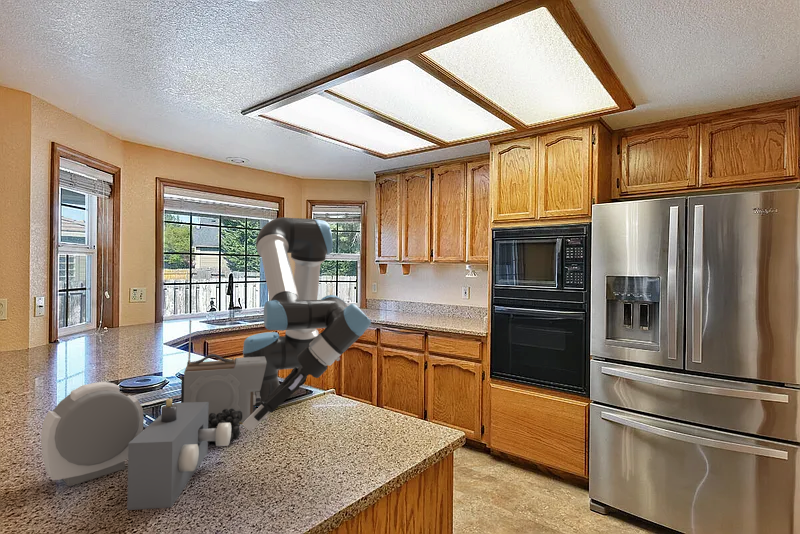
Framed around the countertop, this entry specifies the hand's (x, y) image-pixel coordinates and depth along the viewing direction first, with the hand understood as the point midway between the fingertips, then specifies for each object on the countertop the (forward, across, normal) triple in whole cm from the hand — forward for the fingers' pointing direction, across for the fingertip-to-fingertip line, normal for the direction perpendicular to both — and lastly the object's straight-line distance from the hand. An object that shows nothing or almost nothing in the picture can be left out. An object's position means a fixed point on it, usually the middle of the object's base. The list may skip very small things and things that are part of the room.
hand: (246, 426), depth 102 cm
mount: (+17, -5, +4) cm, 18 cm away
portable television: (+15, +31, +2) cm, 34 cm away
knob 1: (+12, -11, +5) cm, 17 cm away
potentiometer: (+8, -5, +14) cm, 17 cm away
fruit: (+14, +15, +1) cm, 20 cm away
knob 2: (+9, +1, +3) cm, 9 cm away
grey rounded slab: (+30, -1, +17) cm, 34 cm away
